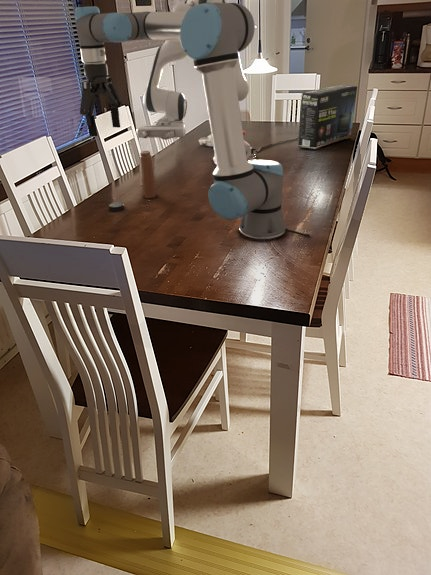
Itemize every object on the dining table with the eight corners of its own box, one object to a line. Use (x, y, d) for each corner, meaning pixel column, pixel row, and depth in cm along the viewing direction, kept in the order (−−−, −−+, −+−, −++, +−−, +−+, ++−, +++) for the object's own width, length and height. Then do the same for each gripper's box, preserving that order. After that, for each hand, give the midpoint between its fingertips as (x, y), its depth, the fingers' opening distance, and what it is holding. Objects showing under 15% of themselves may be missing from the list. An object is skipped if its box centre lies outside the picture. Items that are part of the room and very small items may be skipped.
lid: (125, 206, 174) (125, 202, 173) (121, 211, 170) (121, 207, 169) (112, 206, 175) (111, 202, 174) (108, 211, 170) (107, 207, 170)
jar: (142, 196, 184) (137, 151, 175) (152, 193, 186) (147, 149, 177) (147, 199, 180) (142, 154, 171) (157, 196, 183) (153, 152, 173)
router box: (314, 151, 231) (318, 94, 217) (296, 148, 237) (299, 92, 224) (352, 138, 251) (358, 85, 238) (335, 135, 258) (340, 83, 245)
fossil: (222, 142, 237) (203, 124, 241) (211, 159, 244) (193, 141, 247) (239, 140, 251) (221, 123, 254) (229, 157, 258) (211, 140, 261)
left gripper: (141, 120, 196) (130, 128, 184) (187, 120, 191) (179, 127, 180) (143, 135, 199) (132, 144, 187) (189, 135, 195) (180, 144, 183)
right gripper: (79, 67, 136) (92, 140, 147) (126, 59, 155) (134, 124, 166) (59, 67, 138) (73, 139, 149) (107, 59, 158) (116, 123, 169)
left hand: (155, 136), depth 184 cm, fingers open, 8 cm apart
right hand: (105, 131), depth 158 cm, fingers open, 13 cm apart
